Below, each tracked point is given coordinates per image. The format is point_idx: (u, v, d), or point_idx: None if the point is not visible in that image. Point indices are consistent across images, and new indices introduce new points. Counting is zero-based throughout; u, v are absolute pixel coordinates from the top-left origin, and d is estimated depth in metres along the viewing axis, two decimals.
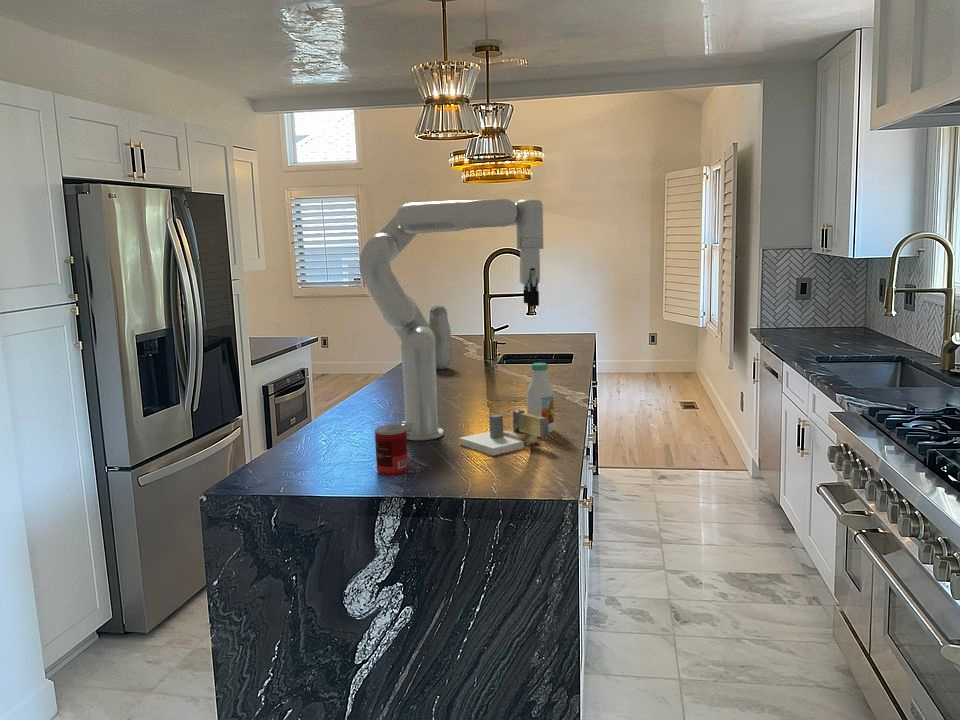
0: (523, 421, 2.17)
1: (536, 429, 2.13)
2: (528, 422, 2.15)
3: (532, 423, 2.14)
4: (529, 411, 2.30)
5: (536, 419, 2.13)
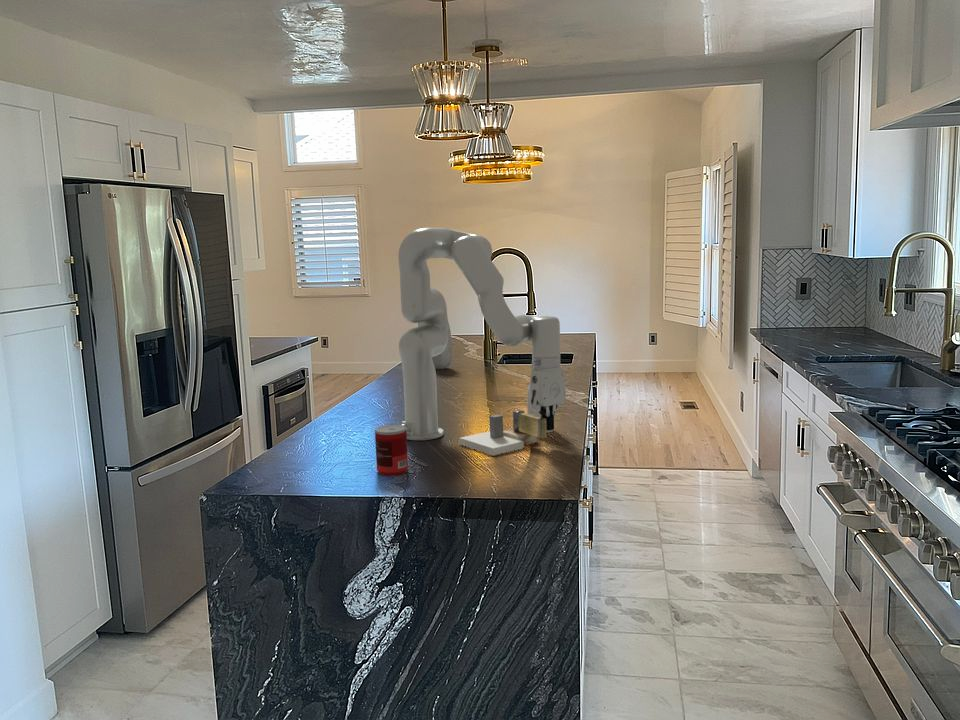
0: (522, 421, 2.17)
1: (534, 429, 2.13)
2: (527, 422, 2.15)
3: (531, 423, 2.14)
4: (529, 411, 2.30)
5: (534, 420, 2.12)
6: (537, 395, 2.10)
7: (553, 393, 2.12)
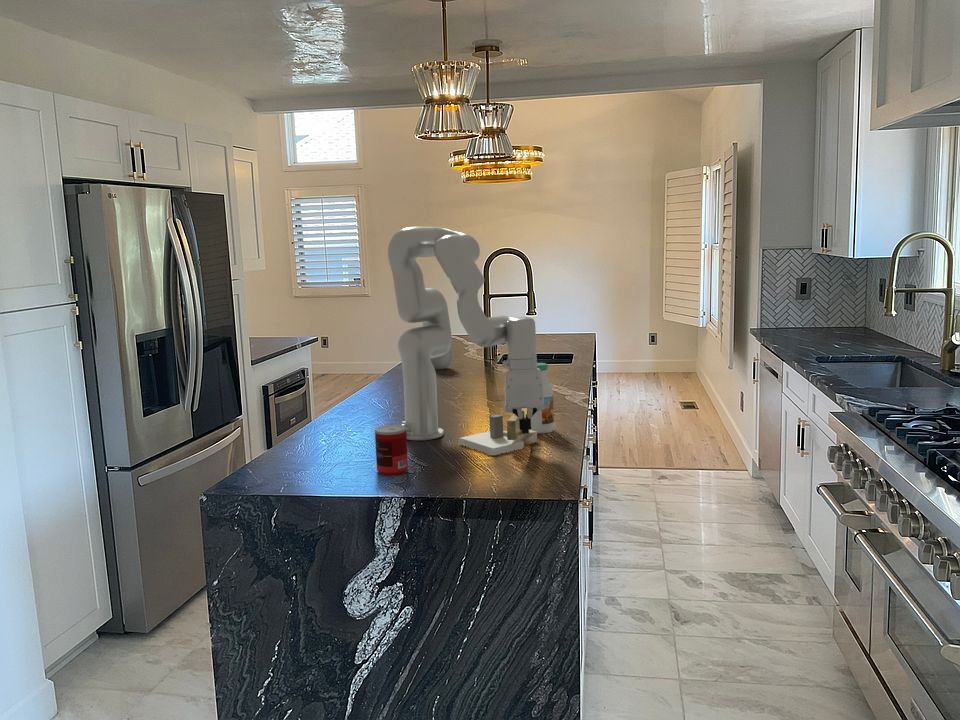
0: None
1: None
2: None
3: None
4: None
5: None
6: None
7: (522, 396, 2.07)
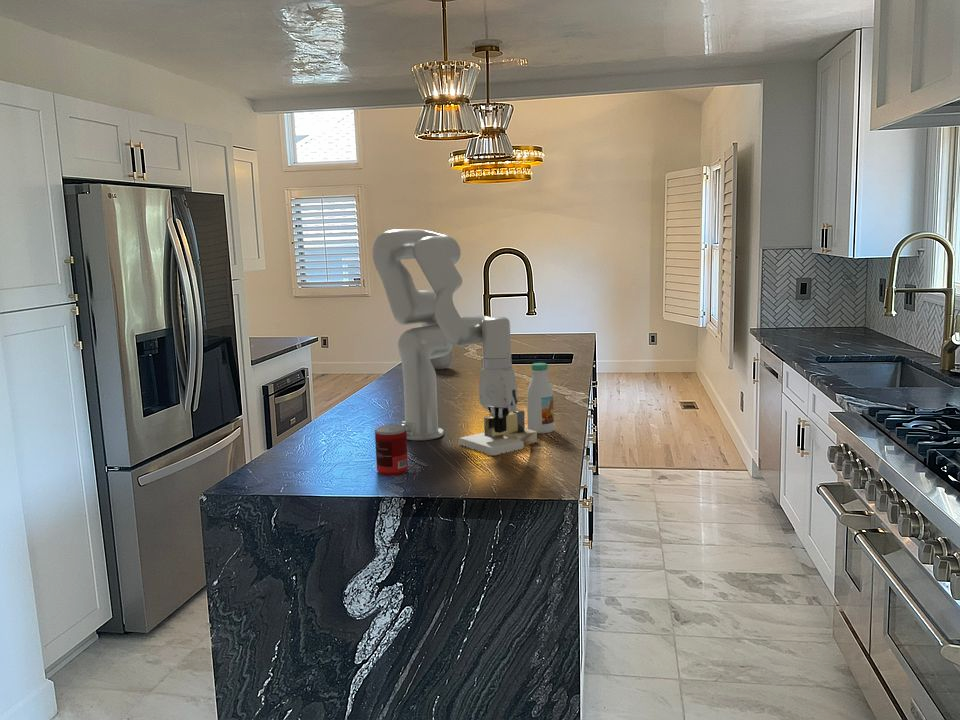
0: None
1: None
2: None
3: None
4: (529, 411, 2.30)
5: None
6: None
7: (490, 395, 2.09)
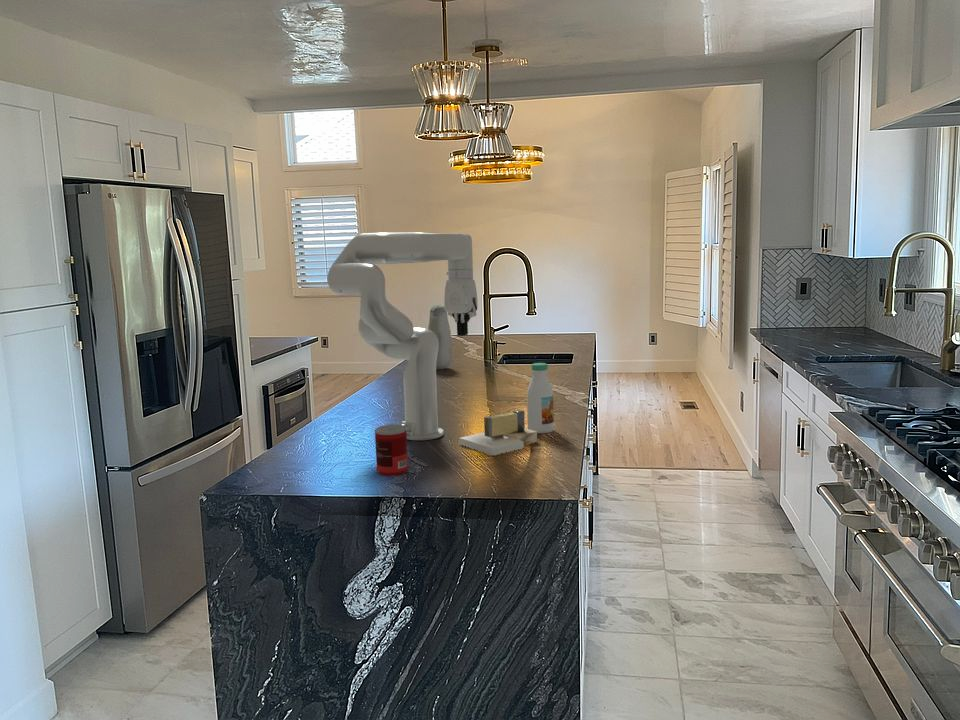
0: None
1: None
2: None
3: None
4: (529, 411, 2.30)
5: None
6: None
7: (454, 302, 2.41)
